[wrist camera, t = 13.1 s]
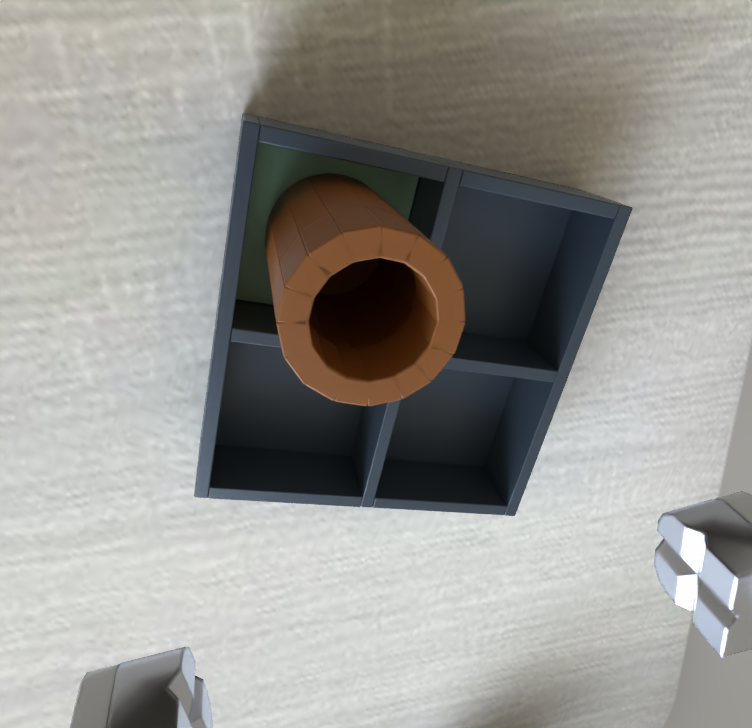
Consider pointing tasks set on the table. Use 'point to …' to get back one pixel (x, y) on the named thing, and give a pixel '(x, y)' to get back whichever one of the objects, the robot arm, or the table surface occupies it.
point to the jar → (359, 293)
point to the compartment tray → (457, 378)
